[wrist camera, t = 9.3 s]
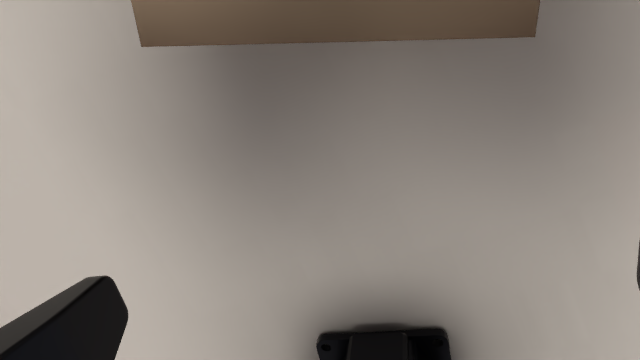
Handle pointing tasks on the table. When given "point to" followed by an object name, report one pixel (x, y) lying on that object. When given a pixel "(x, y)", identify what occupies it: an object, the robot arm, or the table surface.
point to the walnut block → (329, 20)
